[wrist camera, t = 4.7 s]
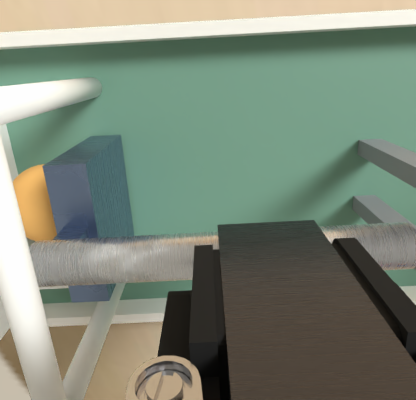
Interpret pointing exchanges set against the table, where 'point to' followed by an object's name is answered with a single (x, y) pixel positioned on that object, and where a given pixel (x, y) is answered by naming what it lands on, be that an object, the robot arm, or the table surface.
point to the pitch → (203, 146)
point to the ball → (35, 204)
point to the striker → (238, 283)
